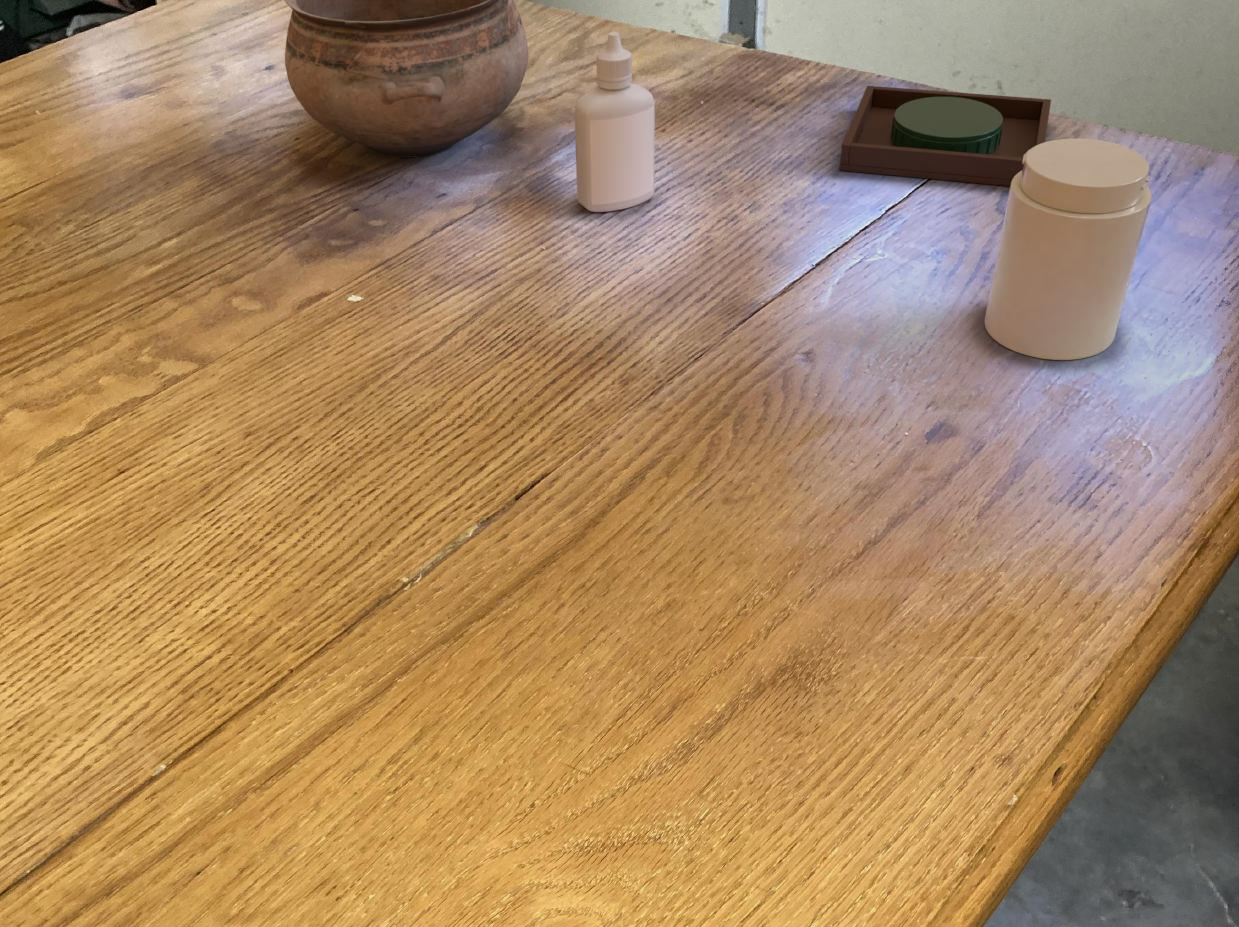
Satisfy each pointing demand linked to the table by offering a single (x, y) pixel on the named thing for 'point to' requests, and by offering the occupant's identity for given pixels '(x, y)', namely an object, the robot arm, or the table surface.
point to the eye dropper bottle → (615, 136)
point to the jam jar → (1068, 248)
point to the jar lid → (947, 125)
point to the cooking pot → (405, 68)
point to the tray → (878, 154)
